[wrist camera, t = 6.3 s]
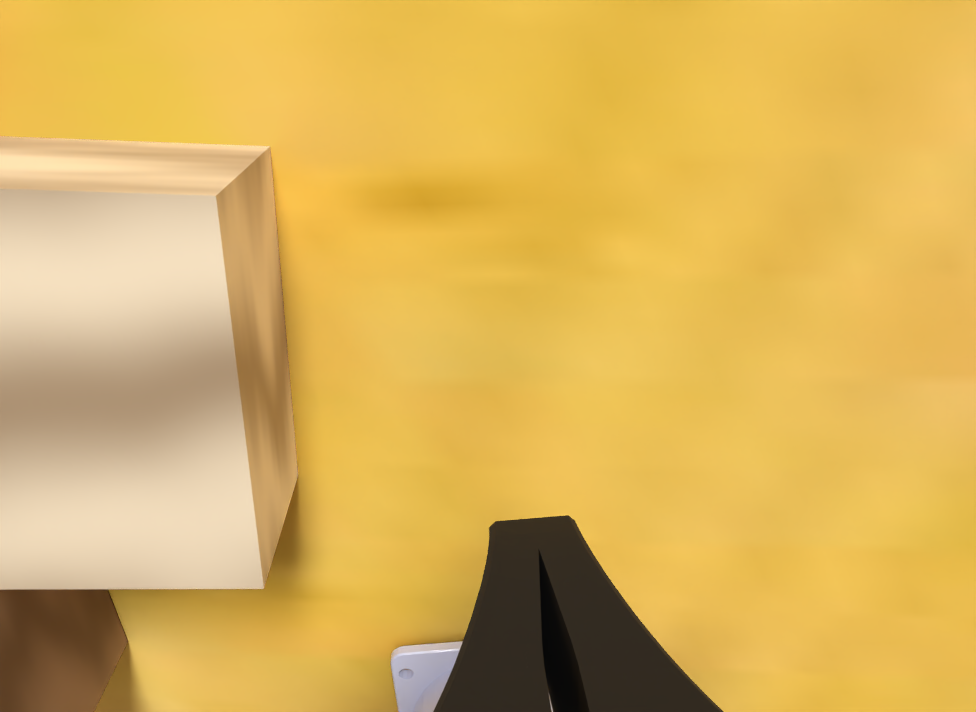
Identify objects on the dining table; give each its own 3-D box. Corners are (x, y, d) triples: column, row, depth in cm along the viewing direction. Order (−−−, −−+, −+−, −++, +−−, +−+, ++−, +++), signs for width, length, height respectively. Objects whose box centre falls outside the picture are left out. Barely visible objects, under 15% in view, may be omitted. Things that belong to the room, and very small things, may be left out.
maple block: (299, 471, 23) (263, 588, 18) (68, 469, 22) (-27, 589, 18) (271, 144, 18) (215, 196, 14) (-19, 133, 18) (-175, 182, 13)
